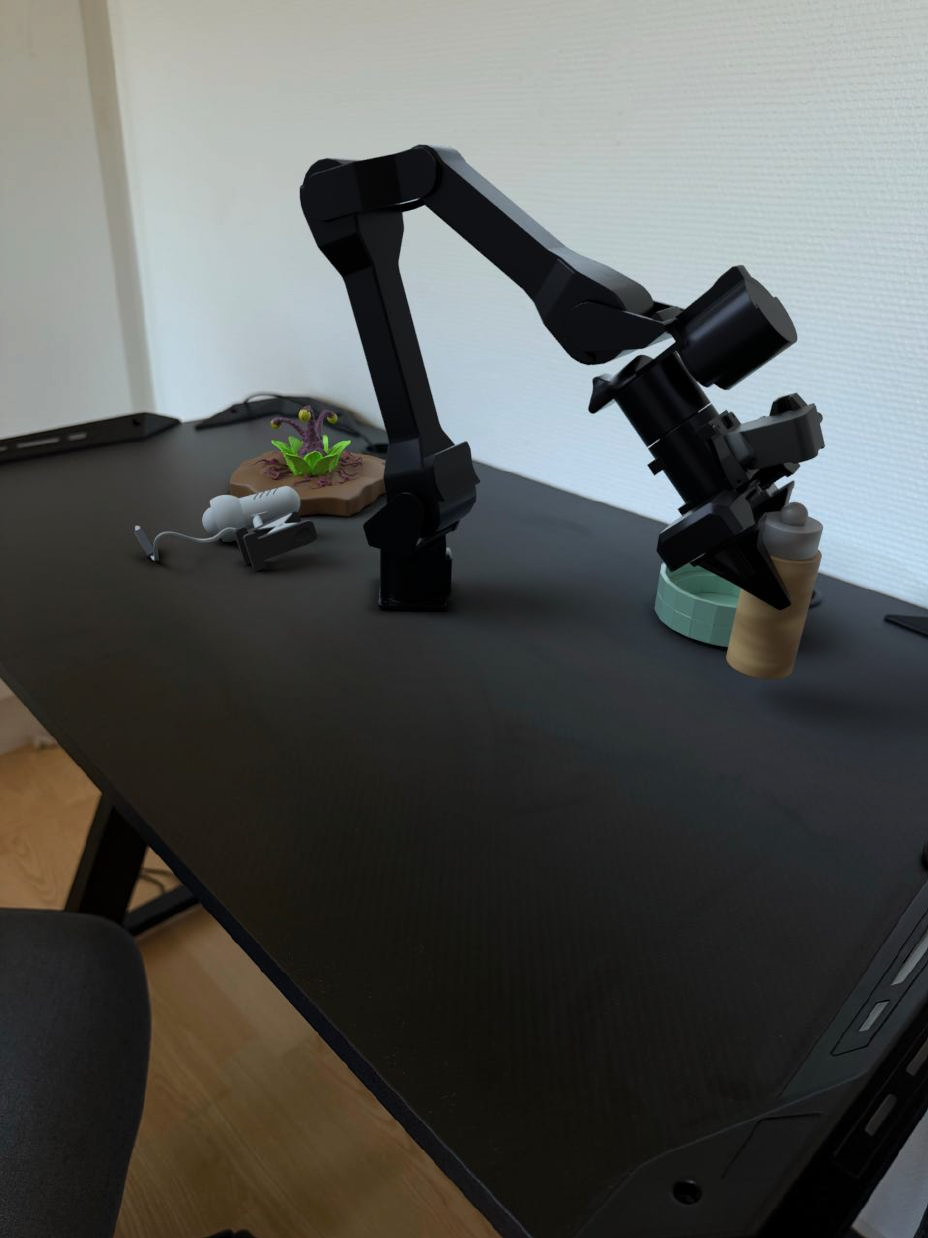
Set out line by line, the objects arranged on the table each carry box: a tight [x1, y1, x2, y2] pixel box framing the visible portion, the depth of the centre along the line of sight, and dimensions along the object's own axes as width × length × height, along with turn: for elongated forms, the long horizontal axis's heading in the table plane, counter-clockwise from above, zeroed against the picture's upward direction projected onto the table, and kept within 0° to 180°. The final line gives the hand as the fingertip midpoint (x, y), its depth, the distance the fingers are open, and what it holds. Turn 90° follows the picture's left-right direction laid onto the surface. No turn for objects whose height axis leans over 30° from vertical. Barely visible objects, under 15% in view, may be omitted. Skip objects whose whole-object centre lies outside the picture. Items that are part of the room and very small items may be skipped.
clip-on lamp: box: [133, 486, 318, 572], centre depth 95 cm, size 12×6×18 cm
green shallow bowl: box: [654, 562, 741, 648], centre depth 86 cm, size 13×13×4 cm
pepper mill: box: [725, 501, 824, 681], centre depth 69 cm, size 5×5×14 cm
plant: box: [229, 404, 386, 518], centre depth 112 cm, size 20×20×11 cm
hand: (794, 594), depth 68 cm, fingers closed on pepper mill, 5 cm apart
